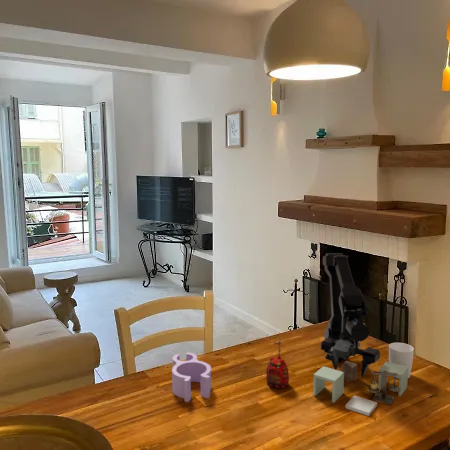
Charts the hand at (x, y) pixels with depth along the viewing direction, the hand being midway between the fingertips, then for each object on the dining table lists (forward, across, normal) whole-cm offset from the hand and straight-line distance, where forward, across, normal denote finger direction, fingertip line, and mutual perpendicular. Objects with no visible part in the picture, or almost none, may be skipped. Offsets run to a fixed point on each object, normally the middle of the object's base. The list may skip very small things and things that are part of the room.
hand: (348, 373), depth 152 cm
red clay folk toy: (+2, -17, -18) cm, 25 cm away
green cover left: (+2, -1, -14) cm, 14 cm away
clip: (+2, -40, -36) cm, 54 cm away
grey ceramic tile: (+2, +10, -15) cm, 18 cm away
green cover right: (+2, +14, +2) cm, 14 cm away
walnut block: (+2, 0, 0) cm, 2 cm away
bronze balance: (+2, +14, -7) cm, 16 cm away
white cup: (+2, +13, +13) cm, 18 cm away
